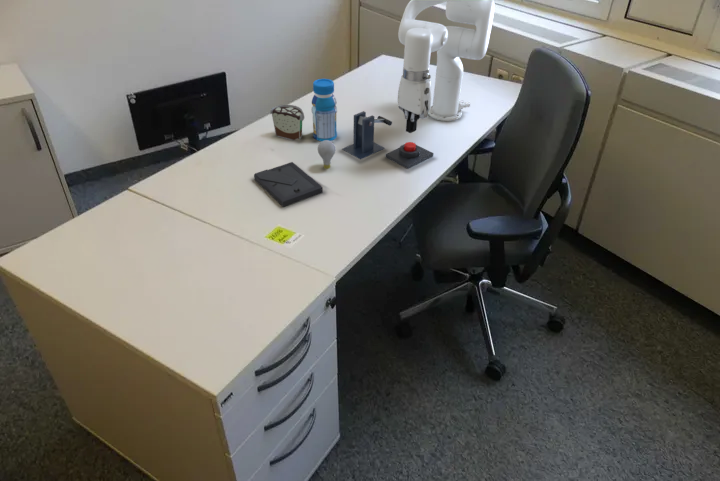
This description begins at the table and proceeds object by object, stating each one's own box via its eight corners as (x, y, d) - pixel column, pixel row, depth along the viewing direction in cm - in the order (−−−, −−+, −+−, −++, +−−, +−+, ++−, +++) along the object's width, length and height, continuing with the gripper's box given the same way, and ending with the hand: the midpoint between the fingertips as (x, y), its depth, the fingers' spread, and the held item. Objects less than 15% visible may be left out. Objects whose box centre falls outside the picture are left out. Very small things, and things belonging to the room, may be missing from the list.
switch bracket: (366, 141, 186) (366, 106, 178) (384, 150, 180) (386, 115, 172) (341, 151, 180) (341, 116, 172) (360, 162, 174) (361, 125, 167)
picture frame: (254, 179, 165) (283, 207, 154) (253, 173, 164) (282, 200, 153) (292, 167, 171) (322, 192, 160) (292, 160, 170) (322, 186, 159)
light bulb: (329, 176, 168) (328, 147, 161) (315, 171, 170) (313, 142, 164) (339, 168, 171) (338, 140, 165) (325, 163, 173) (324, 135, 167)
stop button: (409, 145, 176) (409, 140, 175) (417, 149, 174) (418, 144, 173) (401, 149, 174) (402, 144, 173) (410, 153, 172) (410, 148, 171)
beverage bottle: (325, 146, 182) (323, 89, 170) (307, 138, 187) (304, 82, 174) (342, 138, 187) (342, 82, 175) (325, 130, 191) (323, 75, 179)
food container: (312, 135, 188) (310, 108, 182) (303, 142, 184) (301, 115, 178) (281, 127, 192) (279, 101, 186) (272, 135, 188) (269, 108, 182)
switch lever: (379, 121, 183) (381, 114, 182) (391, 127, 180) (393, 120, 179) (354, 121, 174) (355, 114, 173) (365, 127, 171) (367, 120, 170)
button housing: (410, 147, 182) (411, 137, 180) (432, 159, 177) (434, 148, 174) (385, 159, 176) (385, 148, 173) (407, 171, 170) (408, 160, 168)
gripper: (443, 77, 156) (437, 135, 167) (405, 63, 165) (401, 119, 176) (426, 84, 152) (420, 143, 163) (388, 69, 161) (385, 126, 172)
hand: (410, 131), depth 170 cm, fingers closed
